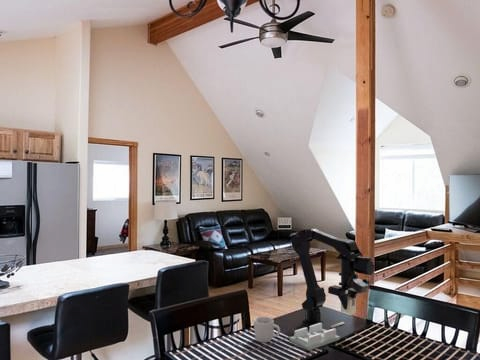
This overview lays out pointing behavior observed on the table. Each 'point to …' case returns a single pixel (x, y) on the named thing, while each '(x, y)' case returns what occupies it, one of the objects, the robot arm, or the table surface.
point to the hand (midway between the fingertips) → (348, 308)
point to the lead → (337, 325)
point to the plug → (350, 306)
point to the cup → (265, 329)
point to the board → (314, 336)
